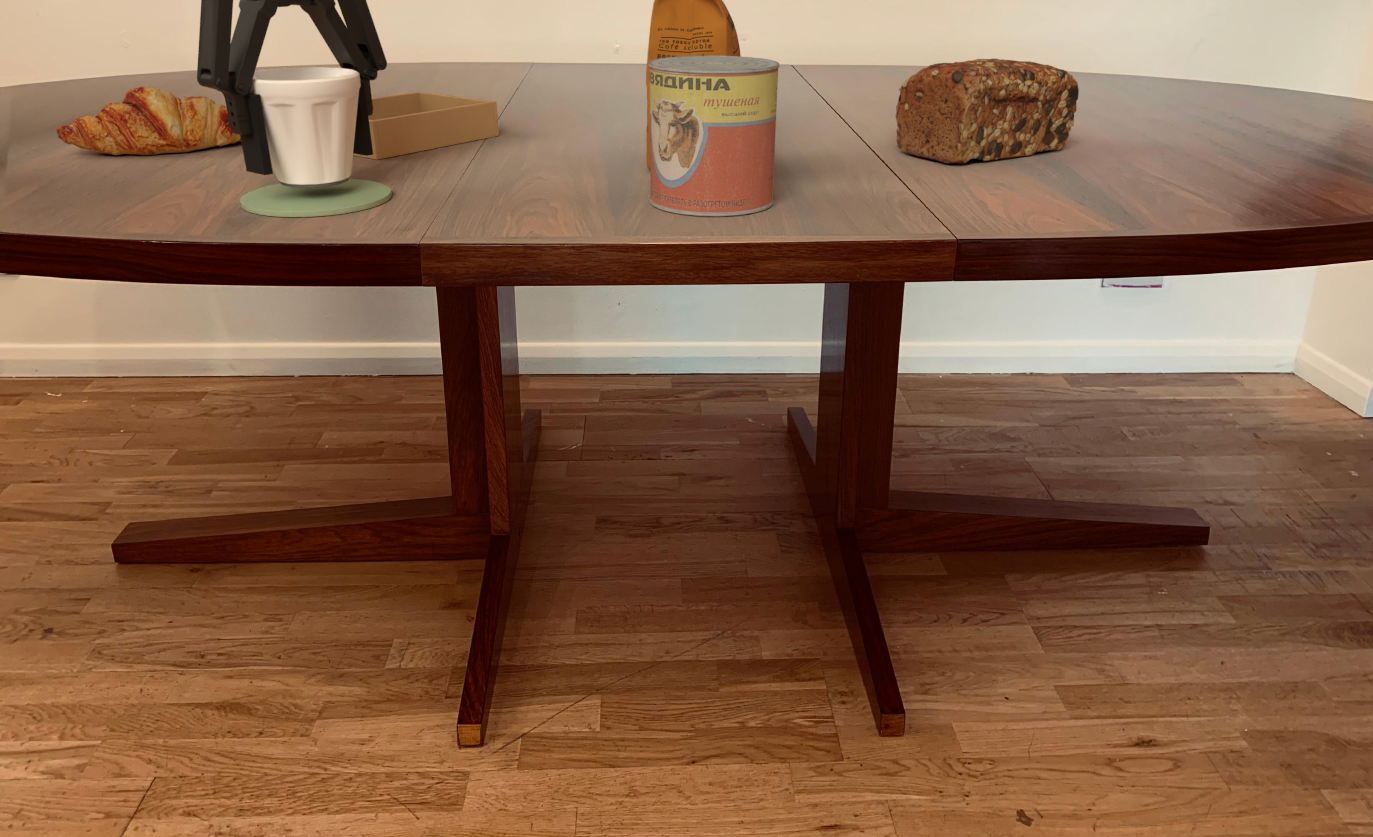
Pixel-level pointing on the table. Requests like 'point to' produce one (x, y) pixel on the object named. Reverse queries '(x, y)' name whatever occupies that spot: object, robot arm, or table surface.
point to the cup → (309, 123)
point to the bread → (985, 110)
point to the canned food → (712, 134)
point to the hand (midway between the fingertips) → (312, 162)
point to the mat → (315, 199)
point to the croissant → (152, 125)
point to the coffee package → (688, 35)
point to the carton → (428, 122)
